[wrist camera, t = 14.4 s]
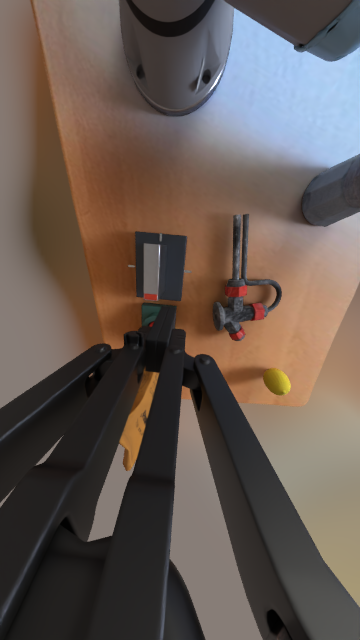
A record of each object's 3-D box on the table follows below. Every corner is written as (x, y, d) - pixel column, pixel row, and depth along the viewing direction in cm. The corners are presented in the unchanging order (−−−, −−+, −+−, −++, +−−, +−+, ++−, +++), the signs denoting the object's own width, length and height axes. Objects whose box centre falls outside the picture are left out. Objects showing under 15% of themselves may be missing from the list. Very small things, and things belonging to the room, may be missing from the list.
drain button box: (143, 302, 40) (139, 307, 37) (176, 305, 40) (175, 311, 36) (143, 338, 44) (139, 346, 40) (173, 341, 44) (172, 349, 40)
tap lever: (154, 244, 33) (143, 243, 25) (166, 245, 33) (159, 244, 25) (153, 289, 36) (143, 300, 29) (164, 290, 36) (157, 301, 29)
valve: (268, 330, 43) (211, 336, 42) (280, 215, 34) (208, 220, 33) (284, 341, 37) (218, 349, 36) (305, 205, 28) (218, 212, 27)
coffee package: (138, 385, 51) (104, 475, 31) (129, 352, 46) (81, 432, 26) (170, 384, 50) (156, 476, 30) (164, 349, 45) (143, 431, 25)
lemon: (278, 360, 44) (295, 382, 37) (281, 375, 46) (298, 399, 39) (257, 365, 45) (270, 387, 38) (260, 380, 47) (273, 404, 40)
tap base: (131, 231, 34) (126, 229, 32) (194, 237, 34) (195, 236, 32) (133, 293, 39) (129, 296, 37) (188, 299, 39) (187, 302, 37)
